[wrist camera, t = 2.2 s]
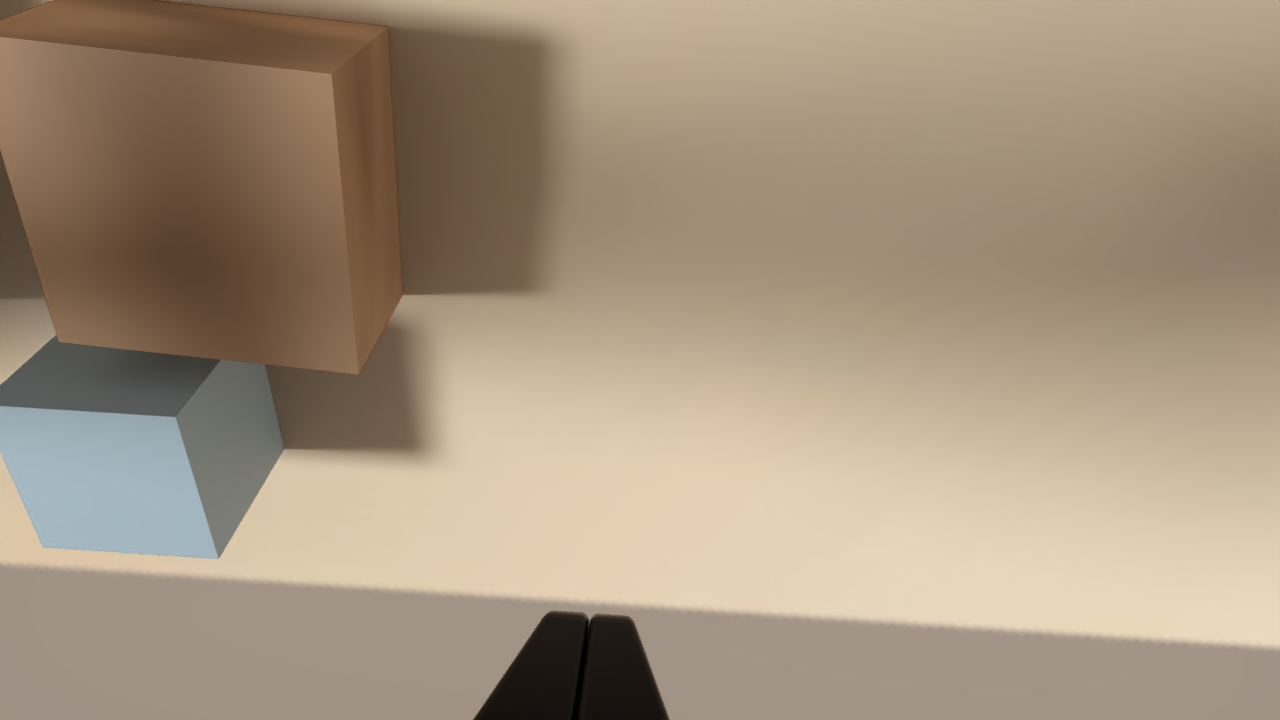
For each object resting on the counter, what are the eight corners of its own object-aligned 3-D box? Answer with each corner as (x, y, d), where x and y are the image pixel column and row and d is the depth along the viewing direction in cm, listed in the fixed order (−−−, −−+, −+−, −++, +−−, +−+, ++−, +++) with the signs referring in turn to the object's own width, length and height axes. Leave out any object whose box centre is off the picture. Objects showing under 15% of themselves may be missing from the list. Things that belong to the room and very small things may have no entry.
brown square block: (147, 262, 21) (58, 341, 18) (85, -12, 18) (-36, 33, 15) (405, 290, 21) (358, 374, 18) (391, 23, 18) (331, 74, 15)
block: (134, 437, 24) (43, 547, 20) (89, 304, 22) (-22, 404, 18) (285, 446, 24) (218, 559, 20) (255, 315, 21) (175, 416, 18)
